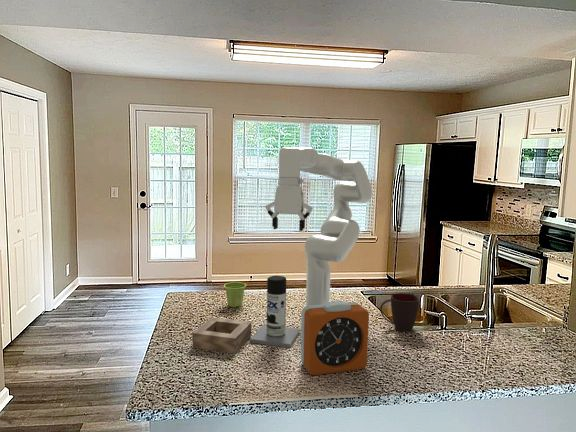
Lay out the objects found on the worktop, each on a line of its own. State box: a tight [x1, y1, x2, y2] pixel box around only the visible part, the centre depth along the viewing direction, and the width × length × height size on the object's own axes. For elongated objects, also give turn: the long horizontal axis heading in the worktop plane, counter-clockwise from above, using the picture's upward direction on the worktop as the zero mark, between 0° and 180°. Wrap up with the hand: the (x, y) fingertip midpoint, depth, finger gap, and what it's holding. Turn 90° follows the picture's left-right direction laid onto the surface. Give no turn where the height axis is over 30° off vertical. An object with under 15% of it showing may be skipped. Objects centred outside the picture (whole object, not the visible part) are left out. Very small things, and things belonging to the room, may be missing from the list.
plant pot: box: [223, 281, 247, 308], centre depth 190 cm, size 9×9×9 cm
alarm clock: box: [300, 300, 370, 376], centre depth 135 cm, size 18×9×21 cm, turn 106°
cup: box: [379, 292, 420, 333], centre depth 166 cm, size 10×14×12 cm
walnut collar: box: [191, 317, 252, 354], centre depth 153 cm, size 15×15×5 cm
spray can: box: [266, 275, 287, 337], centre depth 156 cm, size 7×7×20 cm
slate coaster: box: [249, 323, 301, 348], centre depth 158 cm, size 14×14×1 cm
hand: (288, 229), depth 163 cm, fingers open, 9 cm apart
